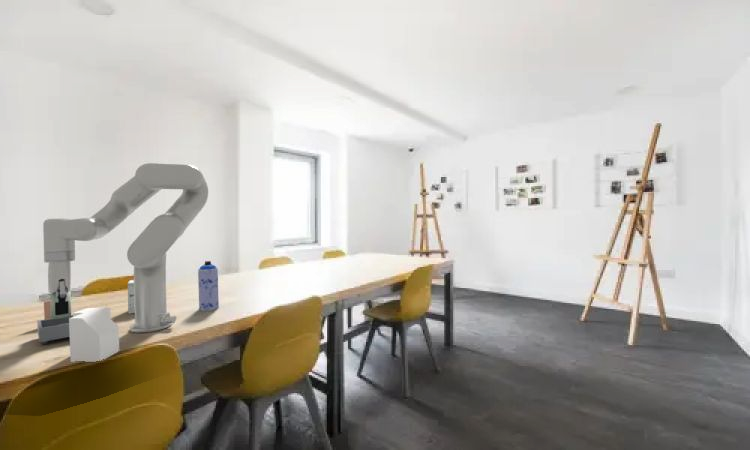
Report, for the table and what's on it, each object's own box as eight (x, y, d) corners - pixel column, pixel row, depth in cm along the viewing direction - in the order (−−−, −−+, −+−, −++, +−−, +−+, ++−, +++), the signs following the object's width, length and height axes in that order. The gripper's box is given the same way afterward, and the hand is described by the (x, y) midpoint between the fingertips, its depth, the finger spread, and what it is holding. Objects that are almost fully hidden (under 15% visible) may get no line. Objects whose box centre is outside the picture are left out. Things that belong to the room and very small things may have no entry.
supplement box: (127, 314, 142) (126, 283, 141) (130, 309, 148) (129, 279, 148) (149, 311, 145) (148, 281, 145) (151, 307, 152) (150, 278, 151)
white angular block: (89, 347, 107) (87, 307, 107) (127, 346, 107) (125, 307, 107) (58, 362, 96) (56, 318, 96) (100, 361, 97) (98, 318, 96)
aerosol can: (219, 305, 155) (218, 259, 154) (219, 309, 148) (218, 261, 147) (199, 307, 152) (197, 260, 151) (198, 311, 145) (196, 263, 144)
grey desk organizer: (88, 336, 116) (87, 309, 115) (39, 346, 107) (38, 317, 107) (78, 319, 134) (77, 296, 134) (35, 326, 126) (34, 302, 126)
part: (51, 319, 112) (50, 294, 111) (50, 316, 115) (49, 291, 115) (72, 316, 115) (71, 291, 115) (70, 313, 119) (69, 289, 118)
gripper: (42, 255, 118) (43, 309, 118) (45, 260, 106) (47, 320, 106) (72, 253, 123) (73, 305, 124) (78, 258, 111) (79, 315, 112)
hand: (61, 312), depth 115 cm, fingers closed on part, 5 cm apart
